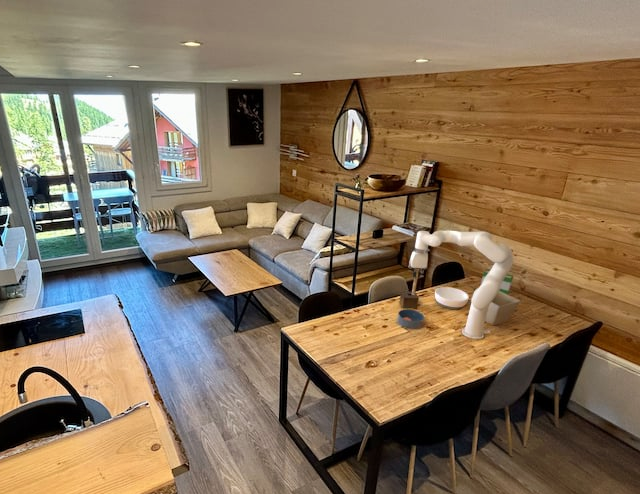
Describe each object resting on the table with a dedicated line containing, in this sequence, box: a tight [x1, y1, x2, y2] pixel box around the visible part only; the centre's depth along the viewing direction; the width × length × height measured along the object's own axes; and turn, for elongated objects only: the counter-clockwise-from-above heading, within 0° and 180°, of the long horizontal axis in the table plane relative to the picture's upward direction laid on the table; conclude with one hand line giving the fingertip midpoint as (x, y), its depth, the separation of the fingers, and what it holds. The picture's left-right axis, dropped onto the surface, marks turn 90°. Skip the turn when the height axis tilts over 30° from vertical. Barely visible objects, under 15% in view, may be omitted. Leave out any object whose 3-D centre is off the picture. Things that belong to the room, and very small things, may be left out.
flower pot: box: [485, 291, 521, 326], centre depth 258 cm, size 19×19×17 cm
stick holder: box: [398, 290, 420, 310], centre depth 275 cm, size 10×10×9 cm
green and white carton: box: [479, 268, 515, 295], centre depth 277 cm, size 18×7×24 cm, turn 52°
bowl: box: [434, 286, 470, 311], centre depth 279 cm, size 22×22×8 cm
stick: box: [411, 268, 419, 295], centre depth 253 cm, size 2×2×18 cm
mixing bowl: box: [396, 308, 425, 330], centre depth 254 cm, size 16×16×6 cm
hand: (416, 277), depth 252 cm, fingers closed on stick, 1 cm apart
